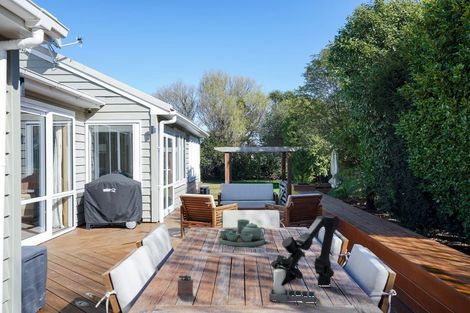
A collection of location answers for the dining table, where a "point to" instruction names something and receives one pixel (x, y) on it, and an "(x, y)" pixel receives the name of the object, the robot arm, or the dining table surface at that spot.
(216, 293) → the dining table surface
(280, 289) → the white smooth rounded part
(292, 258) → the robot arm
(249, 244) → the tea set
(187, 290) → the lighter
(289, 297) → the dish rack
